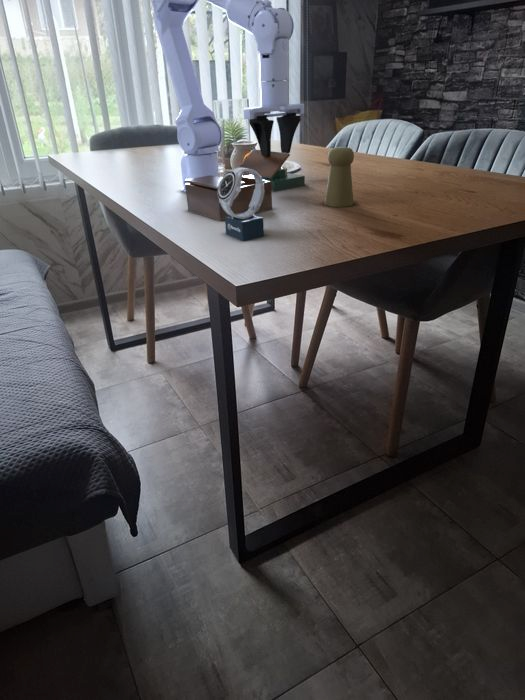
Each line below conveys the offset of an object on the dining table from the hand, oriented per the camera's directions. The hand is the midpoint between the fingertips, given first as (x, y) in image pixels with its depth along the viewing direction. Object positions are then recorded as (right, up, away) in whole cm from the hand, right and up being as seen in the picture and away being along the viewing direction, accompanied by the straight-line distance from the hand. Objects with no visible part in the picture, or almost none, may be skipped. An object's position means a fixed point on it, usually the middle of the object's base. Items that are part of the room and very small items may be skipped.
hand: (275, 154), depth 103 cm
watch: (-6, -22, -19) cm, 29 cm away
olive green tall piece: (+13, -11, -1) cm, 17 cm away
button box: (0, 0, +19) cm, 19 cm away
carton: (-10, -13, -2) cm, 16 cm away
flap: (-3, -2, -2) cm, 4 cm away
